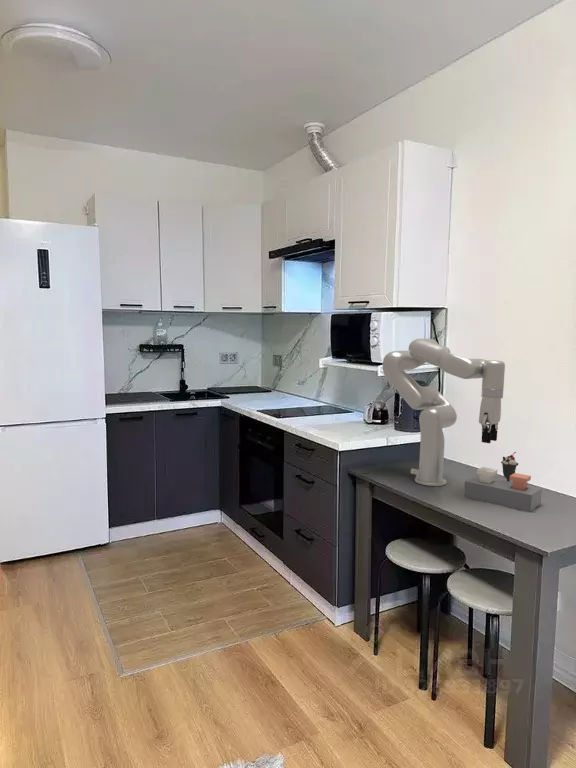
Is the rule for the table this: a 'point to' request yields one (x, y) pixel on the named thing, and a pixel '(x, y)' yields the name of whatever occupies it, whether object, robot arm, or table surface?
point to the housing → (503, 493)
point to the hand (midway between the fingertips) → (489, 441)
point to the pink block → (519, 481)
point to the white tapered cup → (486, 474)
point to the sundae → (509, 466)
